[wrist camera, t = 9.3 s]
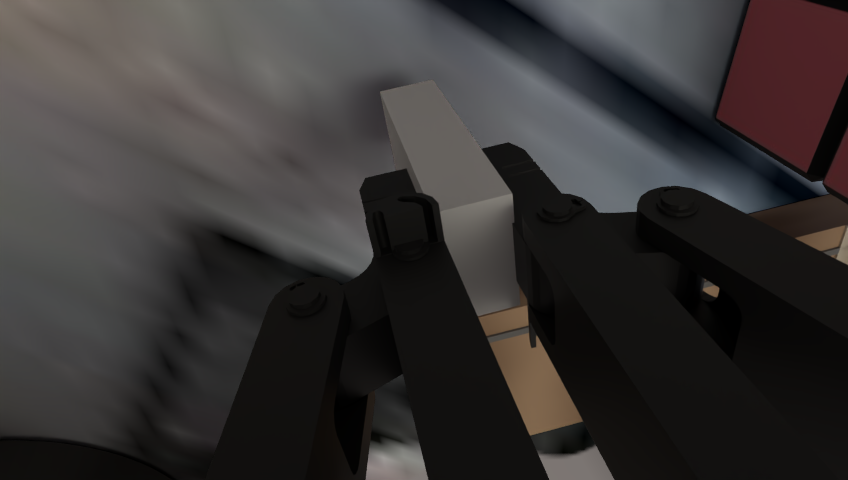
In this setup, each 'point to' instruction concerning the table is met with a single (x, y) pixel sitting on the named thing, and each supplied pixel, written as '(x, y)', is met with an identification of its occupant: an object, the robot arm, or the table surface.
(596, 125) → the table surface
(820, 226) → the brown wooden plank
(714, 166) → the table surface
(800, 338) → the robot arm
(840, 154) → the puzzle cube
